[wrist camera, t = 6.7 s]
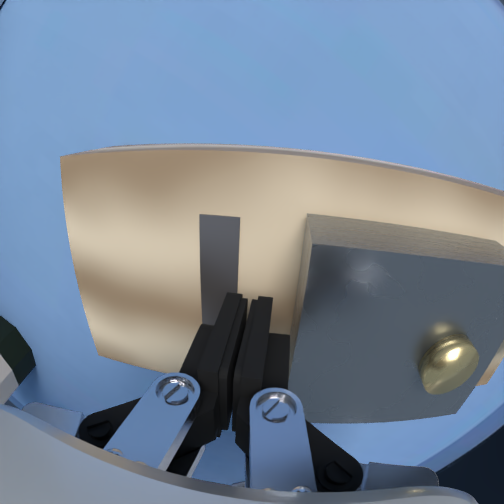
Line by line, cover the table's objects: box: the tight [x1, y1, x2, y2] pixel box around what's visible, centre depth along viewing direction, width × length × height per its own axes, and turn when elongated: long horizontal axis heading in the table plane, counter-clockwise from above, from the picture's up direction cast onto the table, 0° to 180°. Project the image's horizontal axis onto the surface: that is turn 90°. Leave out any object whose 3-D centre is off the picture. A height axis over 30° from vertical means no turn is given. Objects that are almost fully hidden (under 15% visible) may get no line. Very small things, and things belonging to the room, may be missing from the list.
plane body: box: [60, 144, 504, 386], centre depth 13 cm, size 12×26×8 cm, turn 87°
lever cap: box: [288, 213, 504, 423], centre depth 10 cm, size 8×9×4 cm
